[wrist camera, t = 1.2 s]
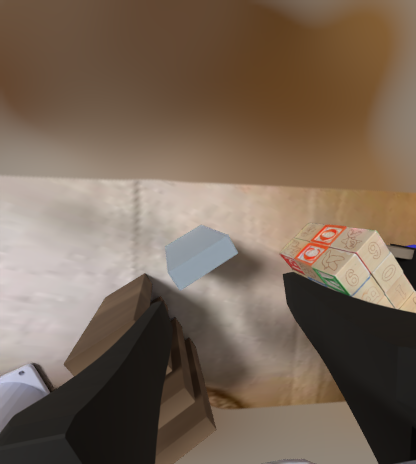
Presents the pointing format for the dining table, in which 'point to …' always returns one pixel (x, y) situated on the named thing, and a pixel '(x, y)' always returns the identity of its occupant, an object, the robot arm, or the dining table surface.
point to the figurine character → (405, 260)
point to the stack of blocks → (350, 264)
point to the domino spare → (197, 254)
